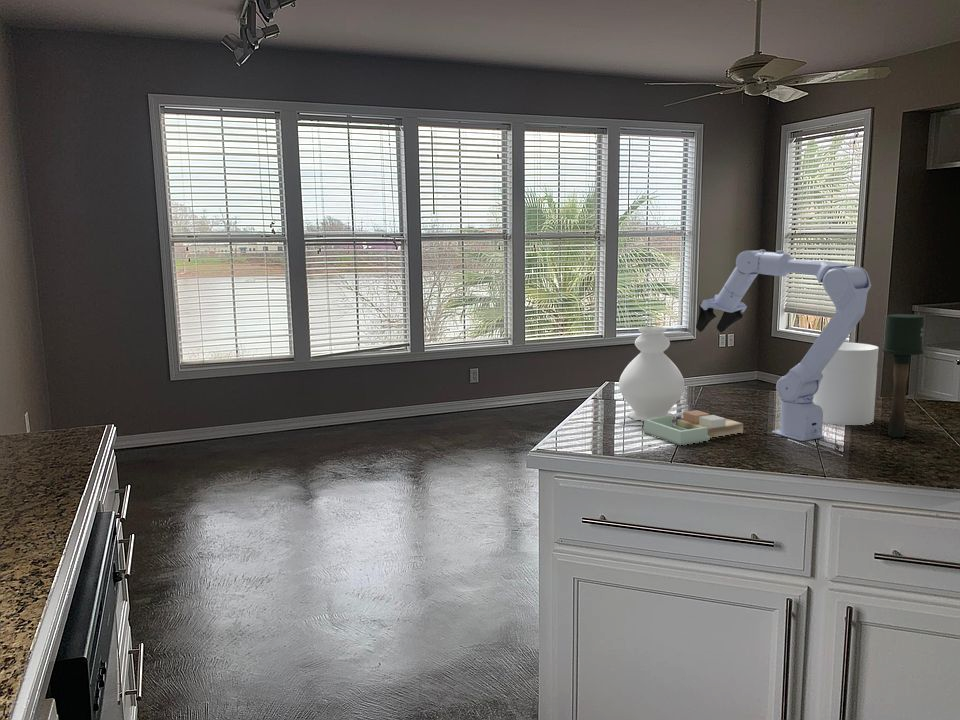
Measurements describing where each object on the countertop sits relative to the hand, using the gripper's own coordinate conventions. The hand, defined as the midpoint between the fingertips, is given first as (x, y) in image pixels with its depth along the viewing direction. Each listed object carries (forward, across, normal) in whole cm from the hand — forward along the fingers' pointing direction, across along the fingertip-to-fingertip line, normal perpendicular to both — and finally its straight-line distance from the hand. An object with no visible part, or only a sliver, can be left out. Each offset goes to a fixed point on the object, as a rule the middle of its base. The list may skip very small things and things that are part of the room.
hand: (708, 329), depth 202 cm
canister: (+6, -30, +30) cm, 43 cm away
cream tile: (+10, +11, +26) cm, 30 cm away
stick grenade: (-4, -26, +46) cm, 53 cm away
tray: (+15, +20, +26) cm, 36 cm away
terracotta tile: (+13, +11, +21) cm, 28 cm away
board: (+14, +9, +25) cm, 30 cm away
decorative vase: (+25, +12, +9) cm, 29 cm away
